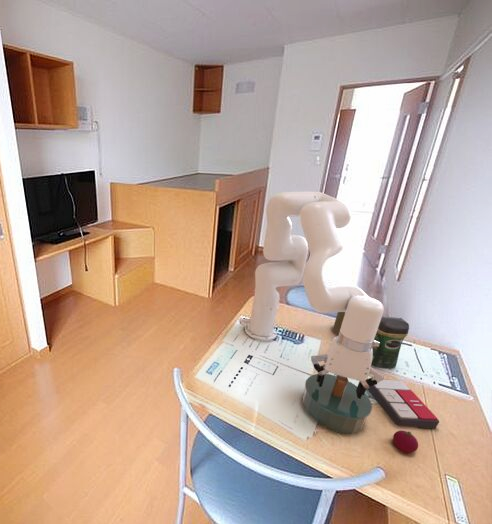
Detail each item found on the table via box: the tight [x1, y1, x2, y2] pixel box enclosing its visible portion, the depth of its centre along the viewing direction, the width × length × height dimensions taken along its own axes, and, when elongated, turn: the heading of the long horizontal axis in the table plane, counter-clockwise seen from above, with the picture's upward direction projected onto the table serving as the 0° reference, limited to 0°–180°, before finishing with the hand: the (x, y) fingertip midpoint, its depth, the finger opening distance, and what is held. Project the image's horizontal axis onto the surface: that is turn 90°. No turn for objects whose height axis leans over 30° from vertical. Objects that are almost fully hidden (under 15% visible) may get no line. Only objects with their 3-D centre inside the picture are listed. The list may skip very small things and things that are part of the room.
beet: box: [392, 430, 419, 455], centre depth 80 cm, size 5×5×6 cm
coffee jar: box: [371, 316, 410, 369], centre depth 108 cm, size 10×8×19 cm
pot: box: [302, 387, 367, 435], centre depth 90 cm, size 16×16×6 cm
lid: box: [304, 373, 373, 419], centre depth 88 cm, size 17×17×7 cm
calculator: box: [366, 379, 440, 430], centre depth 92 cm, size 11×4×15 cm
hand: (338, 389), depth 88 cm, fingers open, 9 cm apart
